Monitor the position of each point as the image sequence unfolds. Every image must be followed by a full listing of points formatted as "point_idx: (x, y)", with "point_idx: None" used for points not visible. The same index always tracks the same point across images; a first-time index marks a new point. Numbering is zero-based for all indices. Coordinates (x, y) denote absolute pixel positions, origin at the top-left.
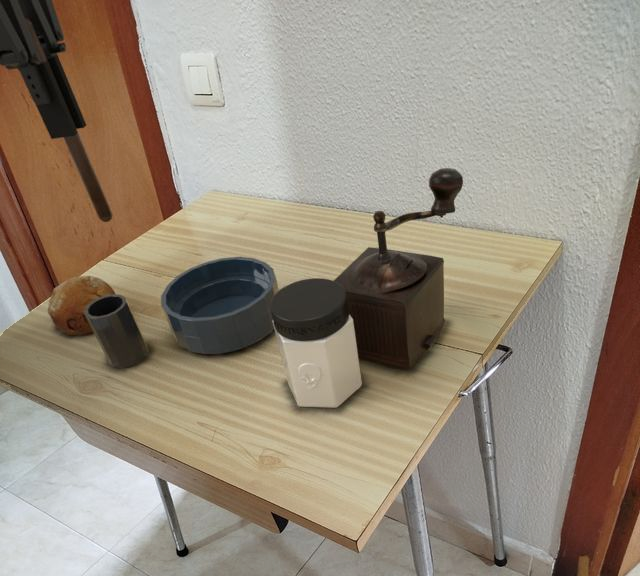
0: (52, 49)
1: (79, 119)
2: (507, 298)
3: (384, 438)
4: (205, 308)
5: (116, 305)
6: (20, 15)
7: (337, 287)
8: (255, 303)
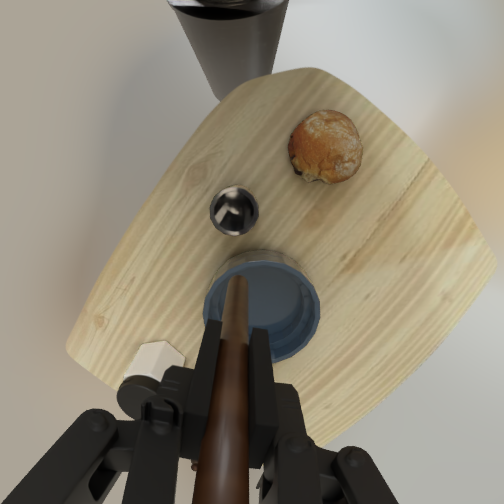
0: (261, 476)
1: None
2: None
3: (116, 377)
4: (288, 278)
5: (253, 214)
6: None
7: None
8: None
